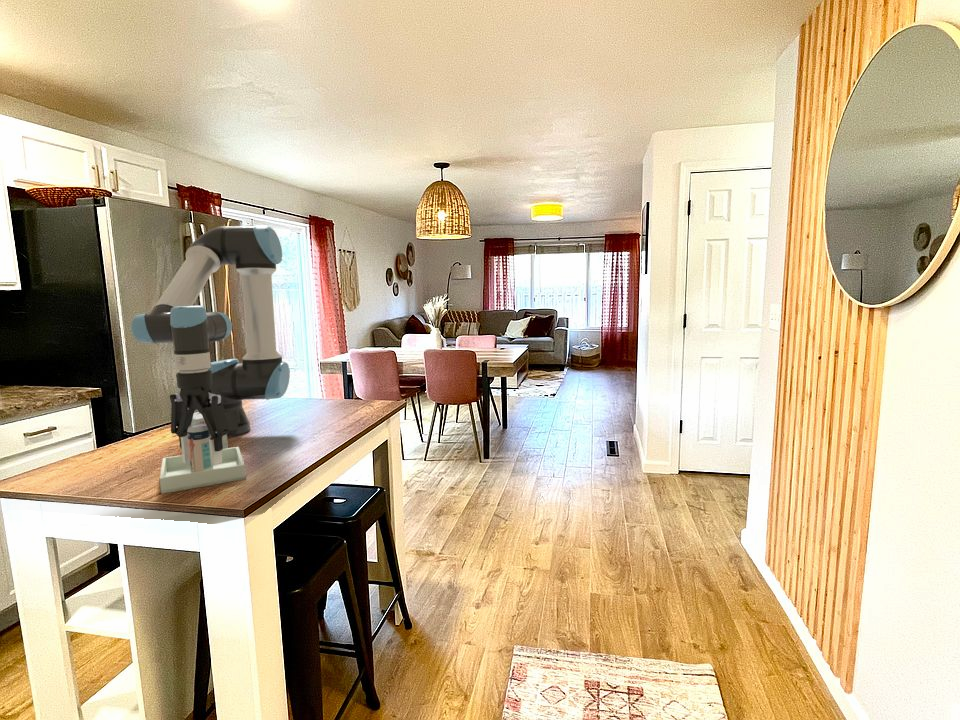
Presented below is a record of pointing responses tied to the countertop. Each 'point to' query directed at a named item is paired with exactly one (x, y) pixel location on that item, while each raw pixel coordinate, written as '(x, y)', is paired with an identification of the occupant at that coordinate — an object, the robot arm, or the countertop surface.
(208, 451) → the beer can
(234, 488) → the countertop surface
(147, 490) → the countertop surface
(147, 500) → the countertop surface
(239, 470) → the bin
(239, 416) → the robot arm
